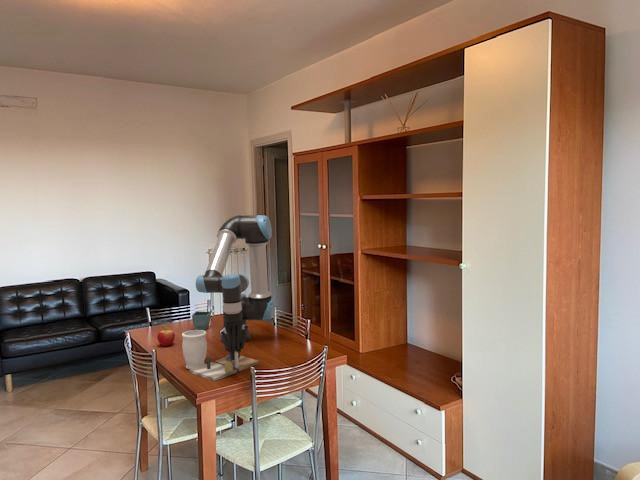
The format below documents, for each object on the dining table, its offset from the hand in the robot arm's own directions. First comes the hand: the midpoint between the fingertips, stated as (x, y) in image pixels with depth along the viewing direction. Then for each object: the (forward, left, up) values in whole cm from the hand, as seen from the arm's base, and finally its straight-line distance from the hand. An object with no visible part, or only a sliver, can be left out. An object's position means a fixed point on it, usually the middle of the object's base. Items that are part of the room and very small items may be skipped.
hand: (235, 366), depth 202 cm
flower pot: (-67, +35, -3) cm, 75 cm away
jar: (-20, -5, -3) cm, 21 cm away
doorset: (-8, +1, -3) cm, 8 cm away
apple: (-57, +5, -3) cm, 57 cm away
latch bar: (-4, 0, 0) cm, 4 cm away
